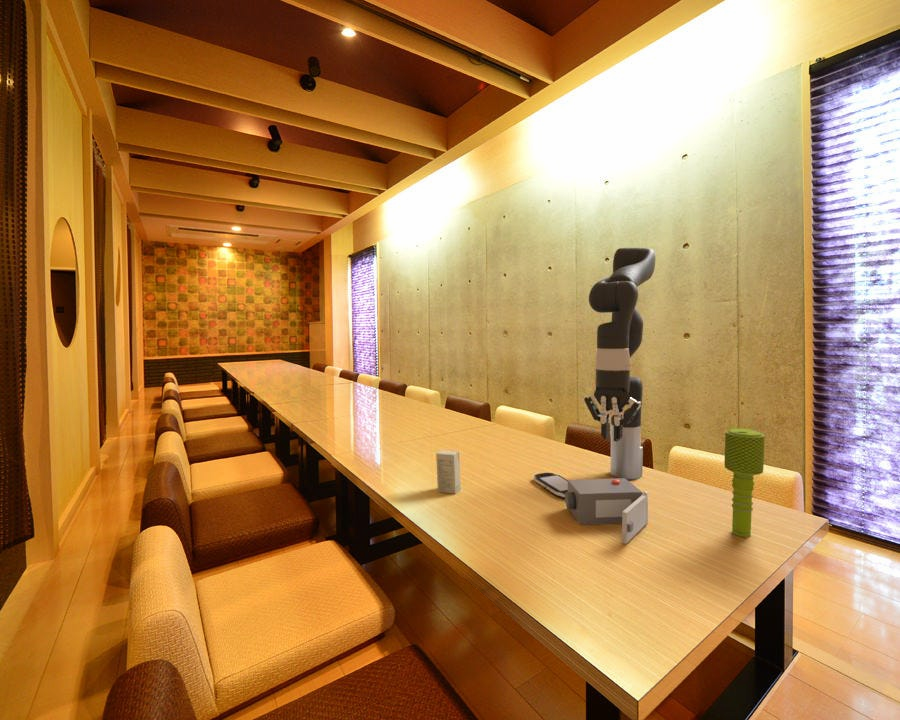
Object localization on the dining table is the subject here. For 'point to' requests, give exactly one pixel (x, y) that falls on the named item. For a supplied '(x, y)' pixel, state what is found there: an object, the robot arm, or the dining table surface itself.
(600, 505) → the box
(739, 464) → the green knurled bolt
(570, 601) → the dining table surface
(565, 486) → the gaming console
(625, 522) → the side door
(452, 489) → the skincare box
